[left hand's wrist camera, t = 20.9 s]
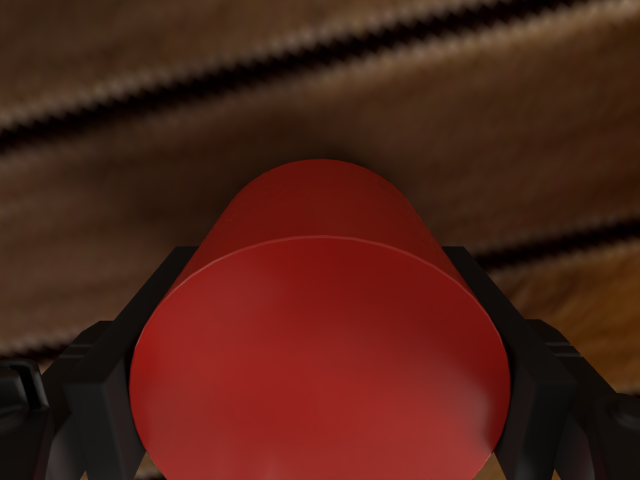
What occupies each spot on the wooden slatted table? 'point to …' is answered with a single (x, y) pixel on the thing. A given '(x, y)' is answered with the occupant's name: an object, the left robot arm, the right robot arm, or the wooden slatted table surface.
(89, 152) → the wooden slatted table surface
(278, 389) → the can
